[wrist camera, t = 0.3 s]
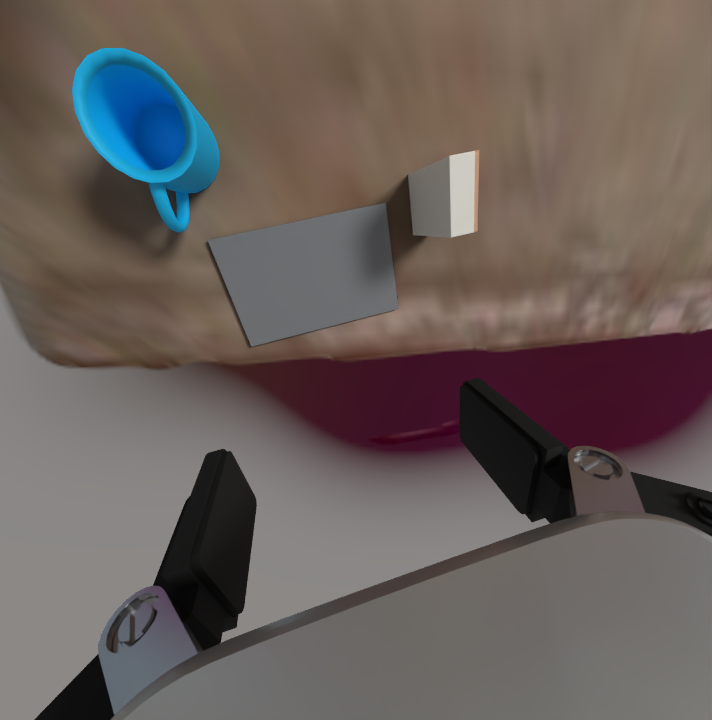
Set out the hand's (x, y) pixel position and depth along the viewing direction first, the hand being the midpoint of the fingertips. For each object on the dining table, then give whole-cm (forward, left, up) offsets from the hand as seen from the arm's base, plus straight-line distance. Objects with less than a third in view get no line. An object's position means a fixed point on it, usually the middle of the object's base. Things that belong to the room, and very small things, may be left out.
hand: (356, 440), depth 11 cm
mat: (-1, +1, -30) cm, 30 cm away
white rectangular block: (-7, +17, -30) cm, 35 cm away
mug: (-15, -10, -30) cm, 35 cm away
